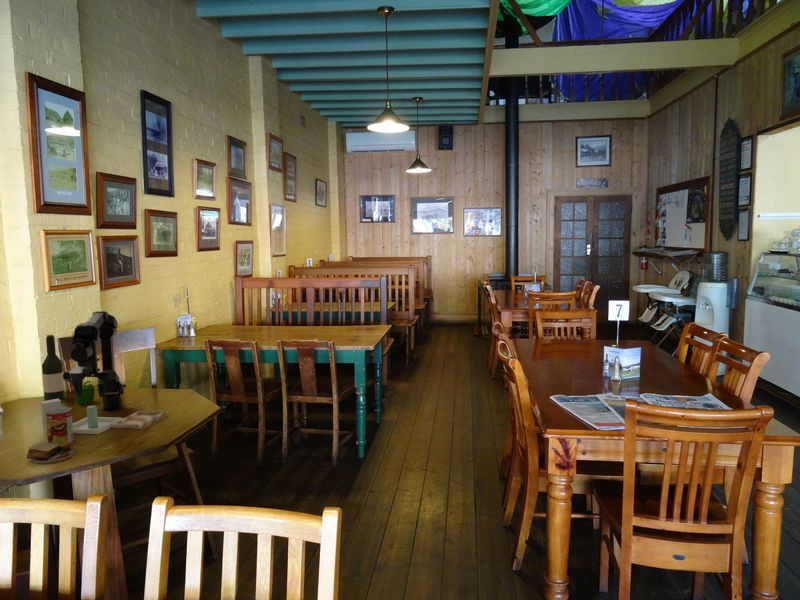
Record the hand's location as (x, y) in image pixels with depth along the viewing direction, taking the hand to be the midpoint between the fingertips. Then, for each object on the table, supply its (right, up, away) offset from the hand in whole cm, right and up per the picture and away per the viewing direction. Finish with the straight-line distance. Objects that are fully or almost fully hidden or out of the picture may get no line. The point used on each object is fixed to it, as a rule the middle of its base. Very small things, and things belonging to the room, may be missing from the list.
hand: (91, 396), depth 219 cm
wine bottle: (-41, -9, +44) cm, 60 cm away
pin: (0, -12, +1) cm, 12 cm away
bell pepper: (-22, -9, +36) cm, 44 cm away
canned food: (-3, -14, -14) cm, 21 cm away
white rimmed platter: (0, -12, +1) cm, 13 cm away
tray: (+15, -12, +8) cm, 21 cm away
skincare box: (-13, -13, -2) cm, 19 cm away
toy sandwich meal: (+2, -16, -29) cm, 33 cm away
